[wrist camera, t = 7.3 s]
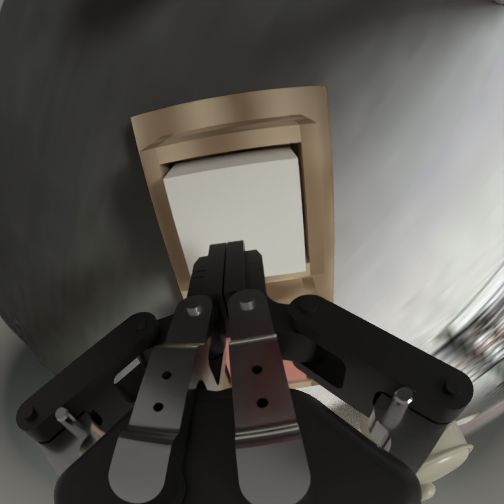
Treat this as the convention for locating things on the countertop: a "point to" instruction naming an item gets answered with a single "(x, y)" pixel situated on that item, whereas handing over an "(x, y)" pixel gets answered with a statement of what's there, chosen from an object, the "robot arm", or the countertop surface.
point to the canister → (435, 456)
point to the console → (243, 140)
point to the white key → (241, 206)
